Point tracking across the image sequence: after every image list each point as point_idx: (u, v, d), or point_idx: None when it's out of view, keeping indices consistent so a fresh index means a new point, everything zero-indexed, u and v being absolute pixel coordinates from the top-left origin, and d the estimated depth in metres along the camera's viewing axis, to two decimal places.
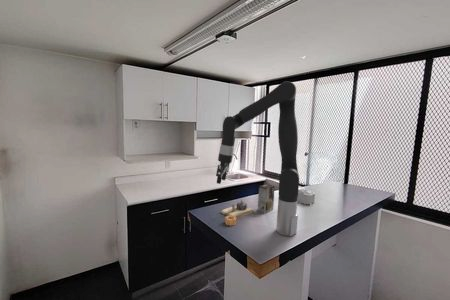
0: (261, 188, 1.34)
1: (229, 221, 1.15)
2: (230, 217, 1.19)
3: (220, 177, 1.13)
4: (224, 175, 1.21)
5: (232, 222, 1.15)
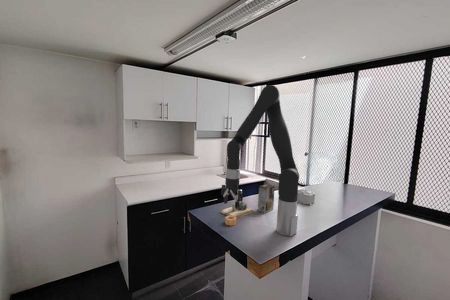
0: (261, 188, 1.34)
1: (229, 221, 1.15)
2: (230, 217, 1.19)
3: None
4: (226, 198, 1.19)
5: (232, 222, 1.15)
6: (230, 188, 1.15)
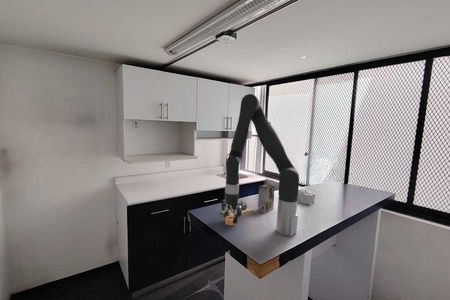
0: (261, 188, 1.34)
1: (229, 221, 1.15)
2: (230, 217, 1.19)
3: None
4: (227, 214, 1.19)
5: (232, 222, 1.15)
6: (230, 203, 1.15)
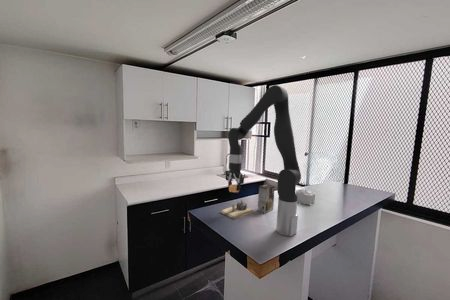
0: (261, 188, 1.34)
1: (232, 188, 1.26)
2: (233, 186, 1.30)
3: None
4: (230, 183, 1.30)
5: (235, 189, 1.26)
6: (233, 172, 1.27)
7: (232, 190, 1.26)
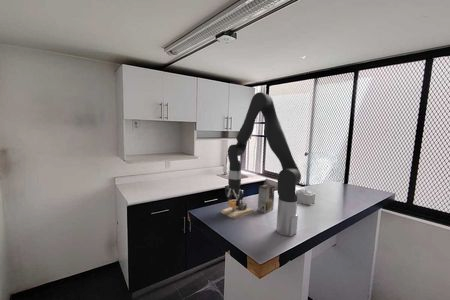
0: (261, 188, 1.34)
1: (232, 204, 1.27)
2: (233, 201, 1.31)
3: None
4: (230, 198, 1.32)
5: (235, 205, 1.27)
6: (232, 188, 1.28)
7: (231, 206, 1.27)
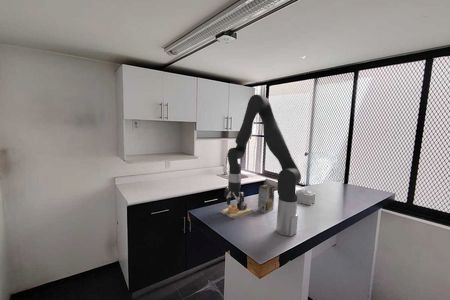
0: (261, 188, 1.34)
1: (232, 209, 1.27)
2: None
3: (240, 202, 1.26)
4: (229, 200, 1.32)
5: (235, 210, 1.27)
6: (232, 191, 1.28)
7: (231, 211, 1.27)
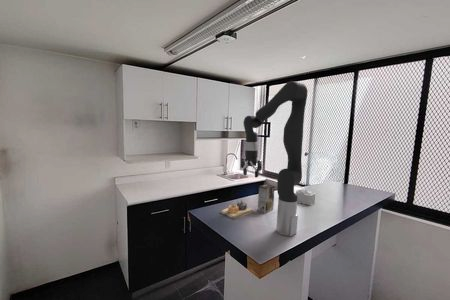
0: (261, 188, 1.34)
1: (232, 209, 1.27)
2: None
3: None
4: (246, 170, 1.32)
5: (235, 210, 1.27)
6: (249, 160, 1.28)
7: (231, 211, 1.27)
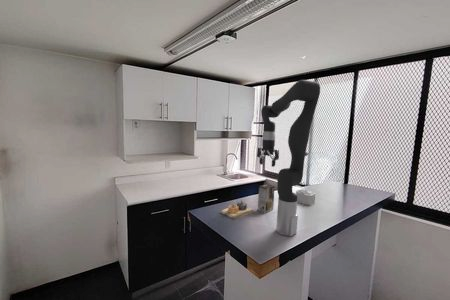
0: (261, 188, 1.34)
1: (232, 209, 1.27)
2: None
3: (274, 160, 1.27)
4: (262, 160, 1.33)
5: (235, 210, 1.27)
6: (266, 149, 1.29)
7: (231, 211, 1.27)
